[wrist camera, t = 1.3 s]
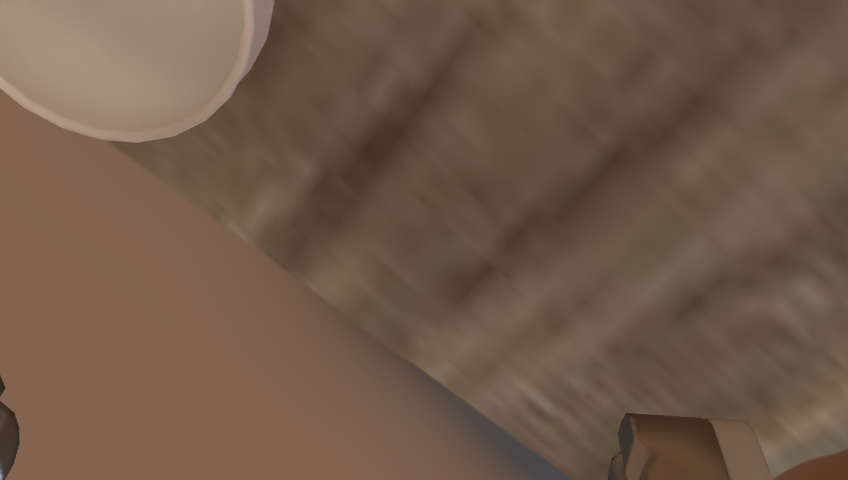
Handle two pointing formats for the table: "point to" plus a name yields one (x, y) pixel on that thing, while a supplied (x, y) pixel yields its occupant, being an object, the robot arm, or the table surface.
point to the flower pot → (128, 61)
